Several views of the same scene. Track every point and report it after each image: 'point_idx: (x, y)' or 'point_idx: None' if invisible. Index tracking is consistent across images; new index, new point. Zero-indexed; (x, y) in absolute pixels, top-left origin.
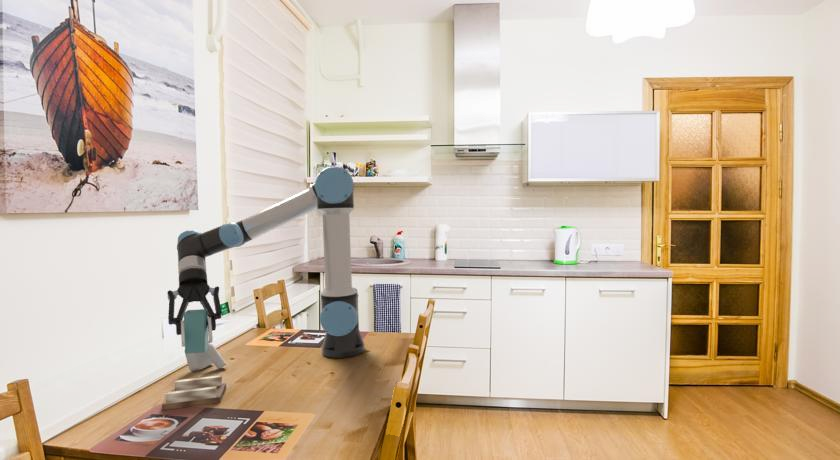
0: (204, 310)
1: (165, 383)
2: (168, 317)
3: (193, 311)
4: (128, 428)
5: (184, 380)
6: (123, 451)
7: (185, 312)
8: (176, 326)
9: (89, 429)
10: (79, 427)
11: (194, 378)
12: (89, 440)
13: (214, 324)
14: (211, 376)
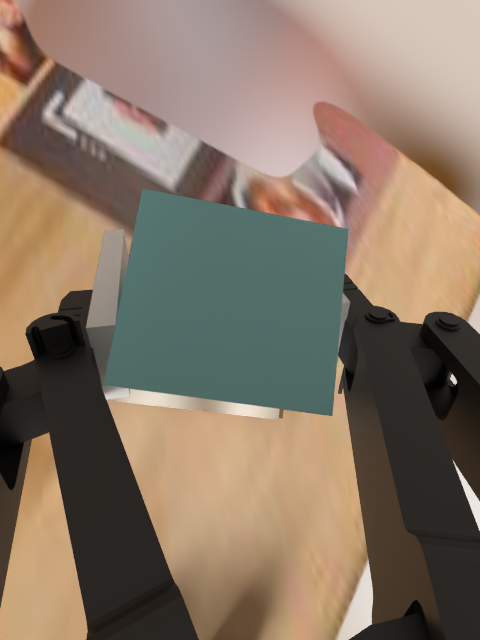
0: (138, 309)
1: (319, 556)
2: (470, 325)
3: (261, 309)
4: (348, 220)
5: (247, 405)
6: (329, 104)
7: (340, 290)
8: (360, 294)
9: (436, 262)
10: (463, 287)
11: (212, 410)
12: (415, 198)
13: (70, 308)
14: (148, 402)
